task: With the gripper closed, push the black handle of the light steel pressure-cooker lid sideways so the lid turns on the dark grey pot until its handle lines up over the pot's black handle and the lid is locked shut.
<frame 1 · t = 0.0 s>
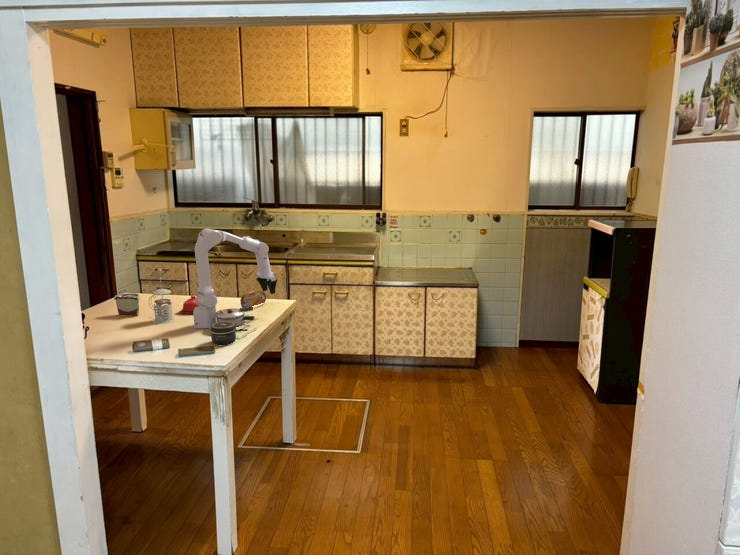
hand: (269, 292, 250), 11 cm above the table, tool pointing down, fingers open, 7 cm apart
cooker lid: (234, 311, 229), point 7 cm above the table, hinge at 38.0°
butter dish: (194, 312, 254), on the table
jar: (224, 342, 211), on the table
cooker pot: (231, 327, 229), on the table
french press: (162, 320, 240), on the table
food container: (131, 314, 249), on the table
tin: (253, 307, 262), on the table
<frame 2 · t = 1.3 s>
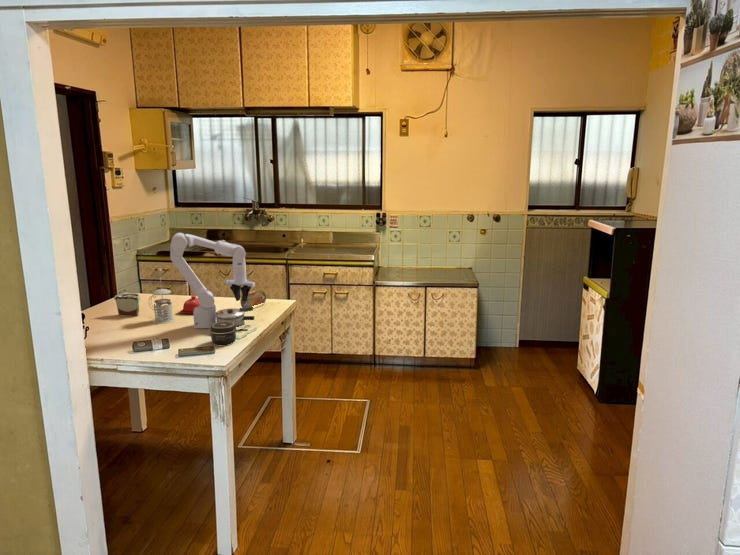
hand: (241, 300, 235), 10 cm above the table, tool pointing down, fingers open, 3 cm apart
nothing on the table moved.
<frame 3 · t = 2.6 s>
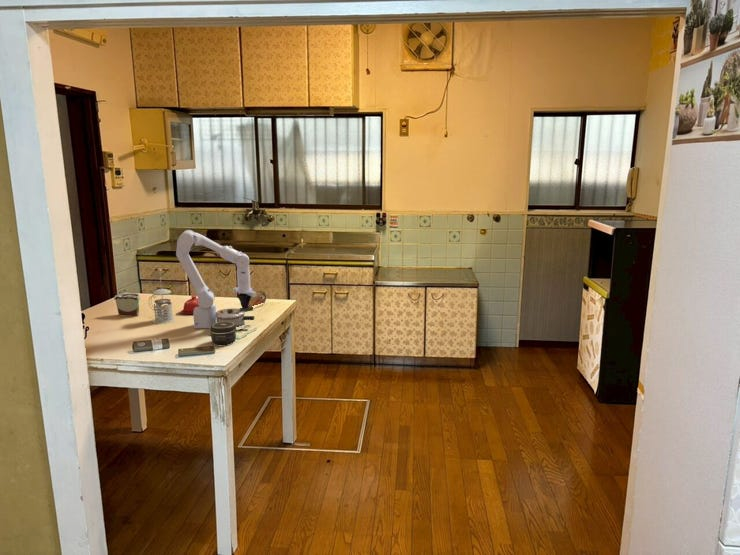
hand: (245, 309, 234), 7 cm above the table, tool pointing down, fingers closed
cooker lid: (234, 311, 229), point 7 cm above the table, hinge at 37.4°, touching gripper
everything else where it was.
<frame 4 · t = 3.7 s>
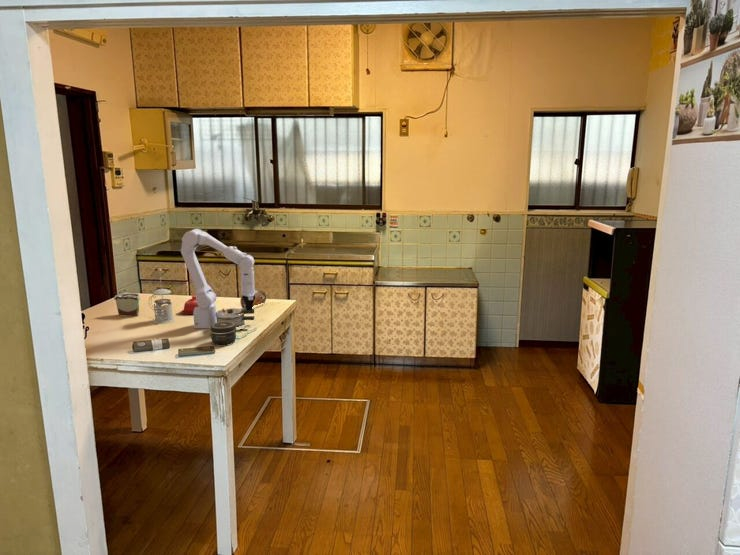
hand: (249, 311, 231), 7 cm above the table, tool pointing down, fingers closed
cooker lid: (234, 311, 228), point 7 cm above the table, hinge at 9.4°, touching gripper
everything else where it was.
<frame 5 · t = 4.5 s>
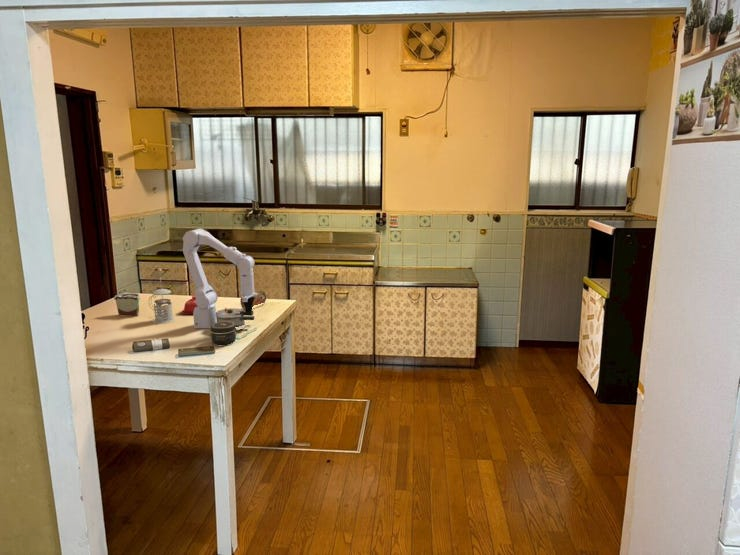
hand: (249, 313, 228), 7 cm above the table, tool pointing down, fingers closed, pressing on cooker lid
cooker lid: (234, 312, 227), point 7 cm above the table, hinge at -8.9°, touching gripper
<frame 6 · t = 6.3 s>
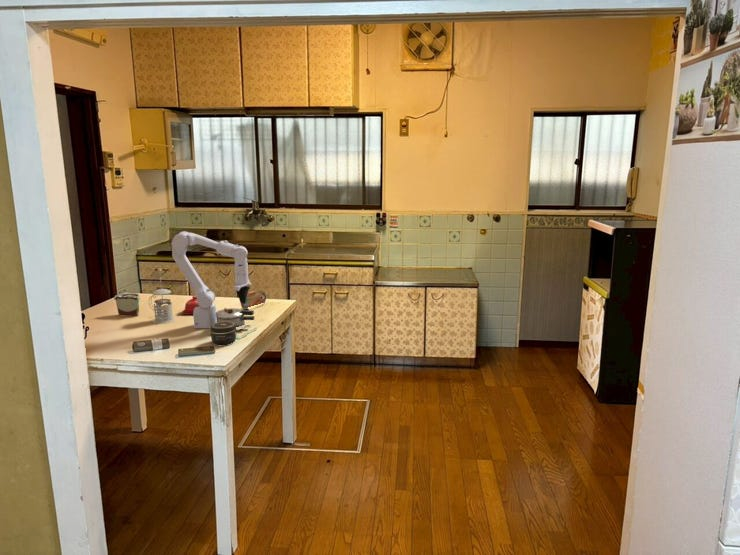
hand: (243, 302, 232), 10 cm above the table, tool pointing down, fingers closed
cooker lid: (234, 312, 228), point 7 cm above the table, hinge at -4.7°
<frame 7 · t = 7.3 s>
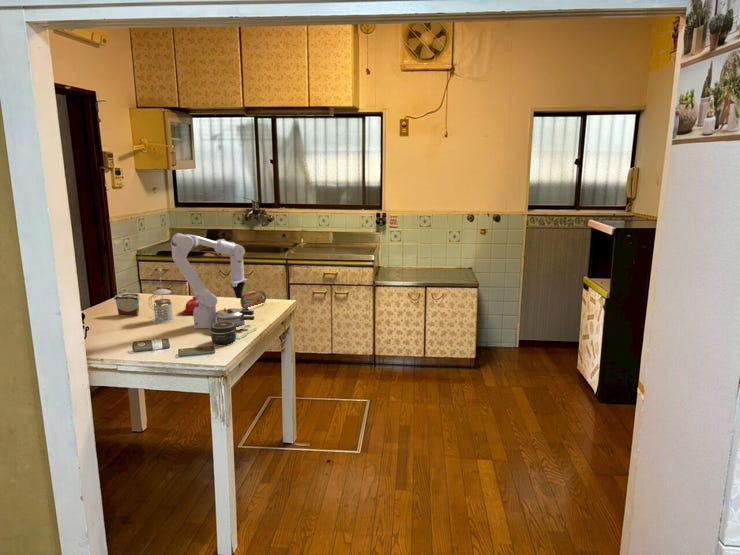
hand: (239, 298, 240), 10 cm above the table, tool pointing down, fingers closed
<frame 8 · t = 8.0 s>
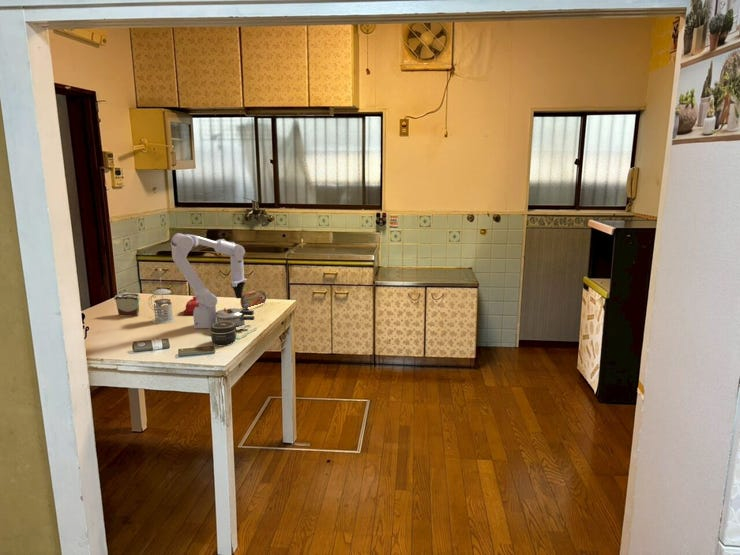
hand: (239, 298, 240), 10 cm above the table, tool pointing down, fingers closed
at the end: cooker lid at -5° (first picture: +38°); jar moved 0.3 cm from its start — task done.
